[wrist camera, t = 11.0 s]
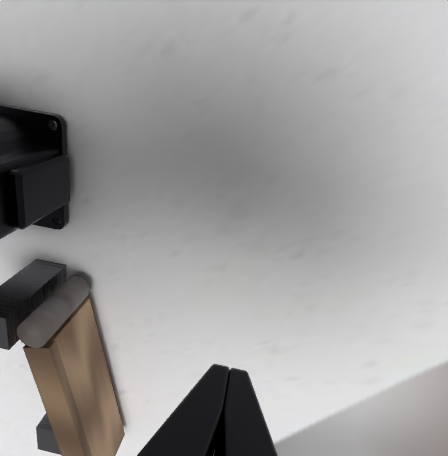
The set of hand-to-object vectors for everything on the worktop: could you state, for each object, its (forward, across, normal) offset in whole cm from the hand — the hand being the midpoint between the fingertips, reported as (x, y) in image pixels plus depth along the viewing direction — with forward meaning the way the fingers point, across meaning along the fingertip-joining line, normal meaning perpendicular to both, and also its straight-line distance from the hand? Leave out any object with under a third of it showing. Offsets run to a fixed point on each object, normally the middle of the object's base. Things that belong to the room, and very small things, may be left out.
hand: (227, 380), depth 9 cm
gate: (+11, +9, +13) cm, 19 cm away
